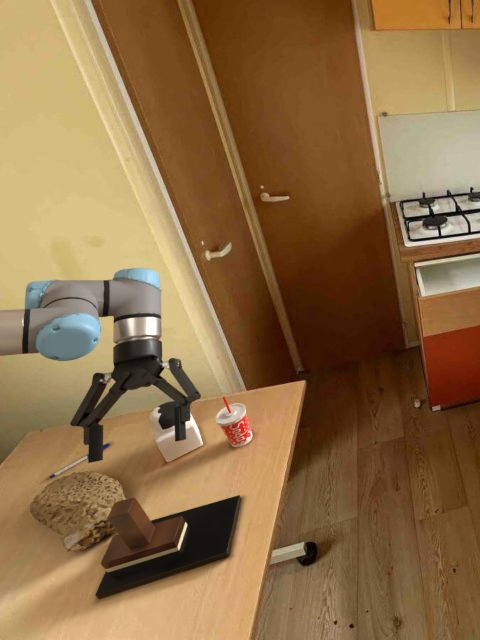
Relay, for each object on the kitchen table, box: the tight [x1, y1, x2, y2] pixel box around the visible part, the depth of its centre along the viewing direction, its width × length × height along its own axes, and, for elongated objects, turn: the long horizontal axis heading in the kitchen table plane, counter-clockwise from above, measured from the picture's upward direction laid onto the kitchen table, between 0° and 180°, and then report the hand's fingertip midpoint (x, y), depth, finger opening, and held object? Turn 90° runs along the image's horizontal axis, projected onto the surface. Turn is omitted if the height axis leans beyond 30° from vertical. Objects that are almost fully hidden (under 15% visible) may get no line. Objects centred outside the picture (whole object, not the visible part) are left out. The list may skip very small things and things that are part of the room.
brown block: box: [100, 496, 187, 572], centre depth 77 cm, size 11×5×12 cm, turn 110°
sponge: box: [29, 470, 126, 553], centre depth 85 cm, size 13×8×20 cm
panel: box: [94, 494, 243, 600], centre depth 81 cm, size 20×12×2 cm, turn 110°
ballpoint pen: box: [49, 443, 111, 479], centre depth 97 cm, size 10×1×1 cm, turn 147°
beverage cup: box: [214, 396, 253, 448], centre depth 99 cm, size 6×6×14 cm
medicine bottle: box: [148, 400, 204, 463], centre depth 98 cm, size 7×7×12 cm
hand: (139, 451), depth 81 cm, fingers open, 13 cm apart
